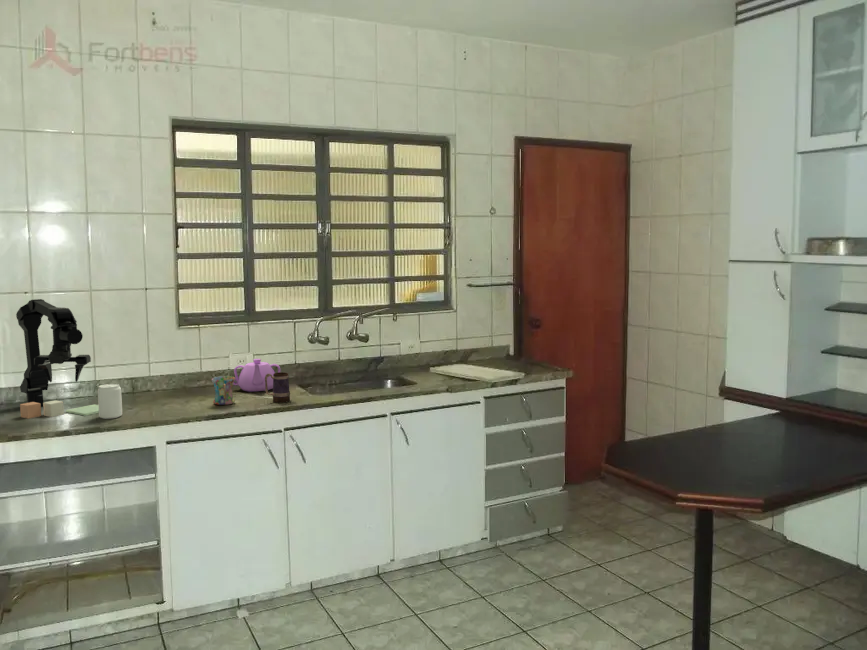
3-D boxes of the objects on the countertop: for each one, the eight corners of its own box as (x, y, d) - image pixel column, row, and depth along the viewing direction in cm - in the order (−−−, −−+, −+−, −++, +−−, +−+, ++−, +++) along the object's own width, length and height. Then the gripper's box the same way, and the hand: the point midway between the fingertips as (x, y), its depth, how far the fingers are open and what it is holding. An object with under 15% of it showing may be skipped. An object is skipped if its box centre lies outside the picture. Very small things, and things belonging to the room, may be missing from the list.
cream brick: (43, 415, 280) (43, 402, 279) (56, 413, 284) (55, 400, 284) (51, 417, 277) (50, 404, 277) (63, 414, 282) (63, 401, 281)
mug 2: (288, 398, 308) (287, 370, 307) (292, 402, 301) (291, 373, 300) (263, 401, 304) (262, 372, 302) (267, 404, 297) (266, 375, 296)
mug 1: (211, 402, 302) (210, 377, 300) (234, 400, 305) (234, 375, 304) (213, 408, 290) (212, 382, 289) (237, 406, 294) (236, 380, 292)
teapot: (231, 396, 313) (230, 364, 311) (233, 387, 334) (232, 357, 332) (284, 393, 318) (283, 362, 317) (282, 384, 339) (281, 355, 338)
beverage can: (113, 419, 272) (112, 388, 271) (94, 418, 274) (92, 387, 273) (126, 414, 280) (125, 384, 279) (108, 413, 282) (106, 383, 280)
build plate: (66, 412, 285) (66, 410, 285) (94, 406, 295) (94, 404, 295) (85, 415, 279) (84, 413, 279) (113, 409, 289) (112, 407, 289)
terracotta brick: (20, 417, 277) (20, 404, 277) (33, 414, 282) (32, 401, 281) (28, 418, 275) (27, 405, 274) (41, 416, 279) (40, 403, 278)
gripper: (27, 345, 268) (29, 386, 270) (81, 344, 271) (83, 385, 273) (38, 340, 279) (40, 380, 281) (90, 340, 282) (92, 379, 284)
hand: (63, 381), depth 280 cm, fingers open, 9 cm apart
